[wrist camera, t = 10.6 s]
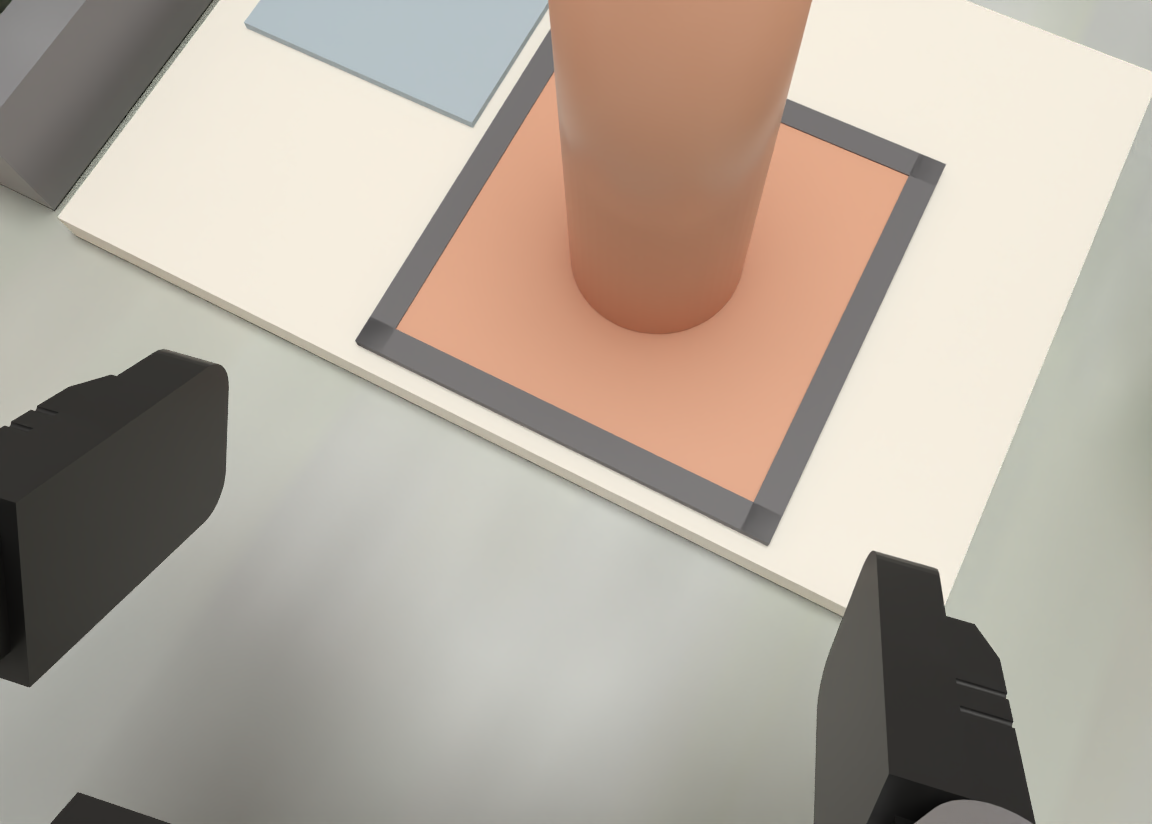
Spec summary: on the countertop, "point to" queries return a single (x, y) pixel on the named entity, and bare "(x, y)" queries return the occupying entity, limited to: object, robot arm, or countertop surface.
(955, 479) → the board
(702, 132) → the orange bottle with cap
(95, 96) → the frame
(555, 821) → the countertop surface
